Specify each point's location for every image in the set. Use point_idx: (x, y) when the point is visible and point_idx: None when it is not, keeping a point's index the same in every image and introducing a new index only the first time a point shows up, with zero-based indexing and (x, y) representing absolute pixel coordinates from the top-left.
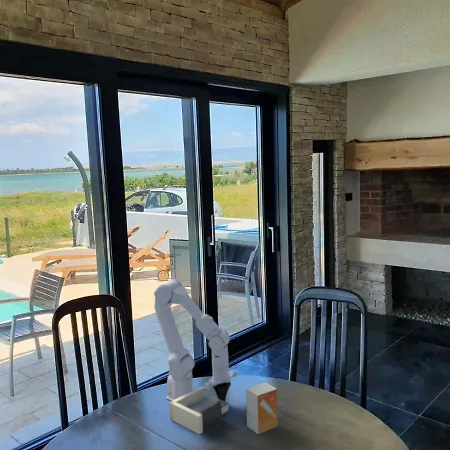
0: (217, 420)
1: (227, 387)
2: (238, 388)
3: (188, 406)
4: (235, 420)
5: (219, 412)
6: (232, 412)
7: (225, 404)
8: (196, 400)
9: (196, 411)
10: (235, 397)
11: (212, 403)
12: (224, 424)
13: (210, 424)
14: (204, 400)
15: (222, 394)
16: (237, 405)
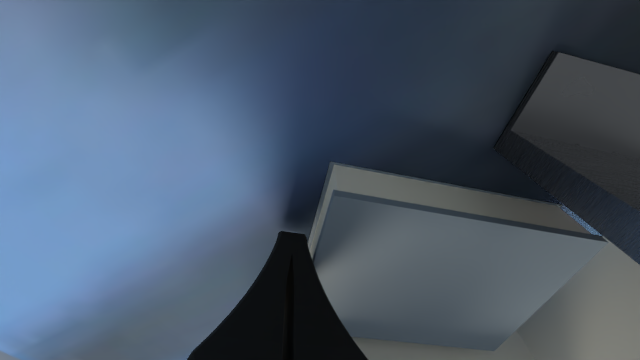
0: (567, 148)
1: (260, 344)
2: (30, 247)
3: (451, 347)
4: (472, 24)
5: (595, 174)
6: (349, 121)
7: (370, 205)
8: (395, 353)
9: (527, 304)
10: (143, 208)
11: (391, 281)
12: (579, 76)
13: (638, 163)
14: (370, 327)
15: (326, 298)
16: (230, 141)
